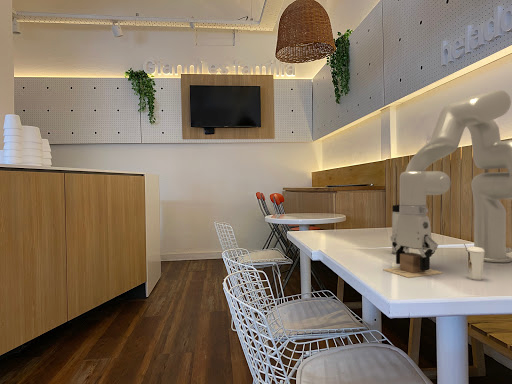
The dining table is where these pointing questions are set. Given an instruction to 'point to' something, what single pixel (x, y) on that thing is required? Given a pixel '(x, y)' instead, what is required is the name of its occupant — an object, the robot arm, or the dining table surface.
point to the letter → (409, 275)
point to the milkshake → (475, 262)
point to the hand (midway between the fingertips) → (412, 266)
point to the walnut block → (410, 262)
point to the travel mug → (394, 224)
